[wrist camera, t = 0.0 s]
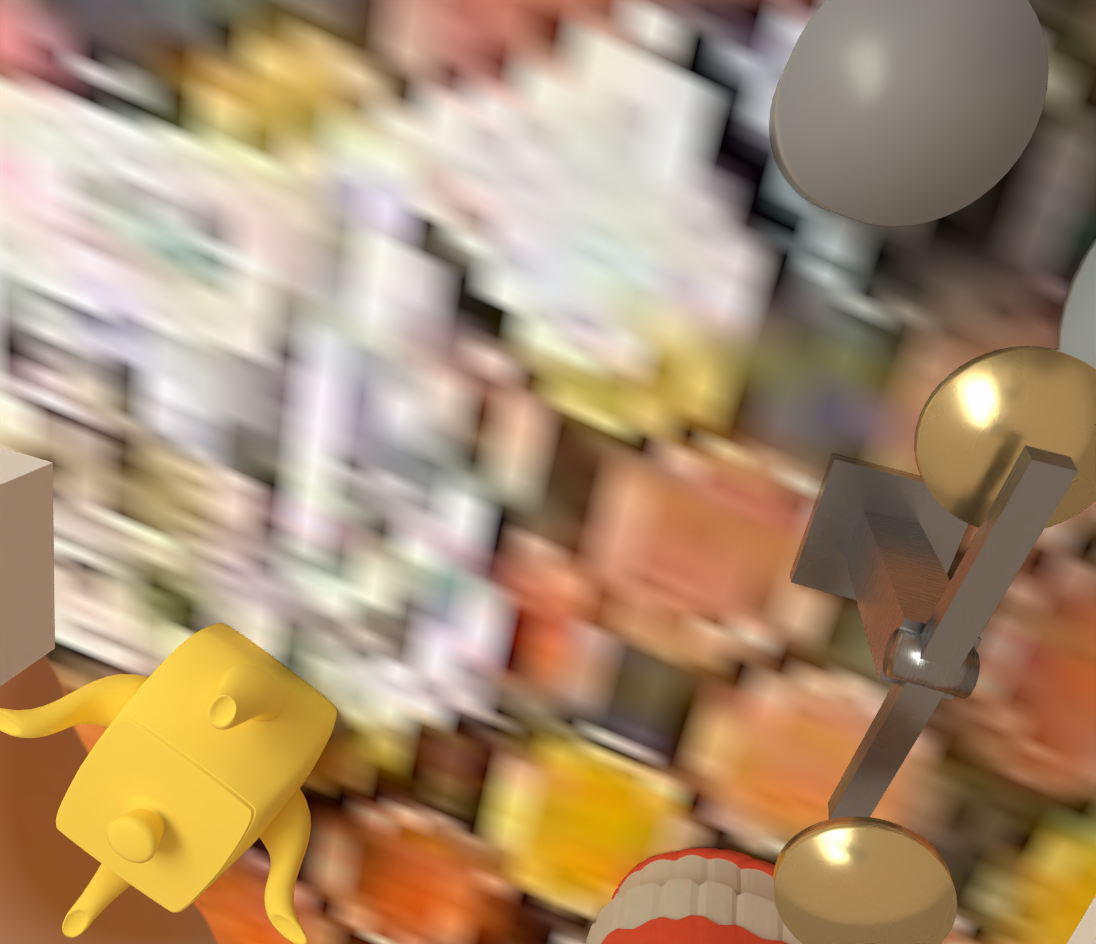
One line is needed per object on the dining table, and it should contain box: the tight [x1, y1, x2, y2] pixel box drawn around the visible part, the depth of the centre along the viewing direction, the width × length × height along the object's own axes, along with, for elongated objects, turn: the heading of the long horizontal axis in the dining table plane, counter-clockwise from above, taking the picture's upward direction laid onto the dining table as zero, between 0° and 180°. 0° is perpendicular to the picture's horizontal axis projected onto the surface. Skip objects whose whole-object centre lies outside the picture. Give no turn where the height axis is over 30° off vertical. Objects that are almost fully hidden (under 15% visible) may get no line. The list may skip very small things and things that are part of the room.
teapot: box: [0, 623, 337, 944], centre depth 44 cm, size 15×14×10 cm
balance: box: [773, 346, 1096, 944], centre depth 31 cm, size 21×6×13 cm, turn 168°
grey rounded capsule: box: [769, 0, 1048, 226], centre depth 28 cm, size 7×7×9 cm
